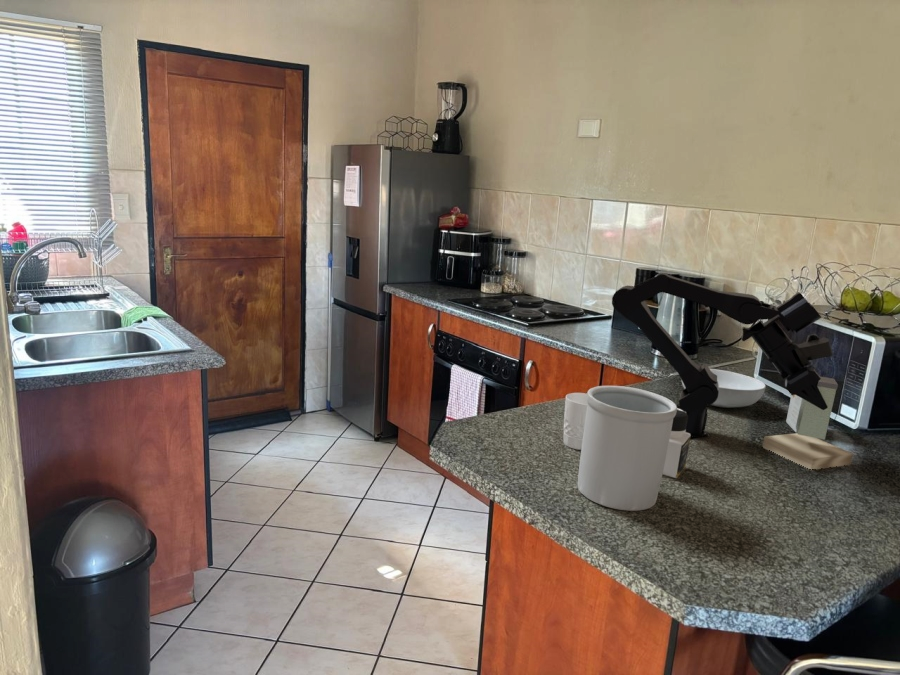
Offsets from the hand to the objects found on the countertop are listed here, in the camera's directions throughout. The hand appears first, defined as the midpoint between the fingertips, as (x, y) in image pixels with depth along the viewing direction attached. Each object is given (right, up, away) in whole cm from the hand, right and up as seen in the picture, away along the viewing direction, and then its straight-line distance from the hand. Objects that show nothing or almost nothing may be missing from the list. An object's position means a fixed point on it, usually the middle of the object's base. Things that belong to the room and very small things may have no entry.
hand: (823, 405), depth 137 cm
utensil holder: (-49, -13, -22) cm, 55 cm away
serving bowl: (-7, -3, +37) cm, 38 cm away
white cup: (-52, -8, -1) cm, 52 cm away
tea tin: (-2, -6, +2) cm, 7 cm away
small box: (+7, -8, +21) cm, 23 cm away
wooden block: (-2, -12, +3) cm, 12 cm away
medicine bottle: (-37, -11, -10) cm, 40 cm away
